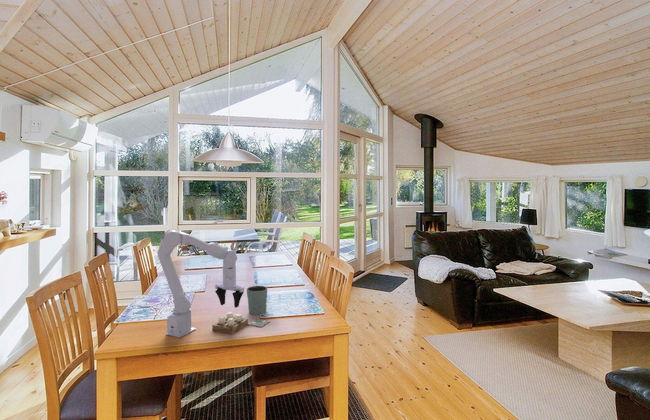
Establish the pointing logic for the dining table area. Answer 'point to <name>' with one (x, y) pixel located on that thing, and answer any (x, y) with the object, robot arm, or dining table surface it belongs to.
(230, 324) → the button near right
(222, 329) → the board
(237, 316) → the button far right
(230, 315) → the button far left
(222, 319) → the button near left
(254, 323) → the card
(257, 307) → the grey cup
